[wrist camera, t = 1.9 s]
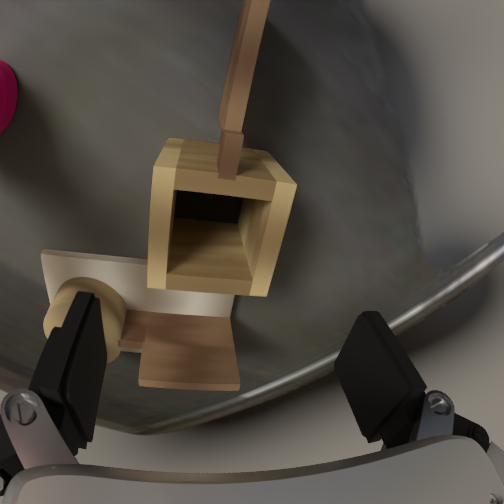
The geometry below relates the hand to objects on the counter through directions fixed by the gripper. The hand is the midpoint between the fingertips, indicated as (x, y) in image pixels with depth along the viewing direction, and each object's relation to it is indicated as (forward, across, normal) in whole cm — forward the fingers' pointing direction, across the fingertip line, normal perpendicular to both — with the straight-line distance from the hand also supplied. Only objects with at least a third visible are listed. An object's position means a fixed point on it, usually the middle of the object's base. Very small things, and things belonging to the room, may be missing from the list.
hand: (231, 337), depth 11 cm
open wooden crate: (+13, 0, -6) cm, 14 cm away
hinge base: (+13, +5, +10) cm, 17 cm away
